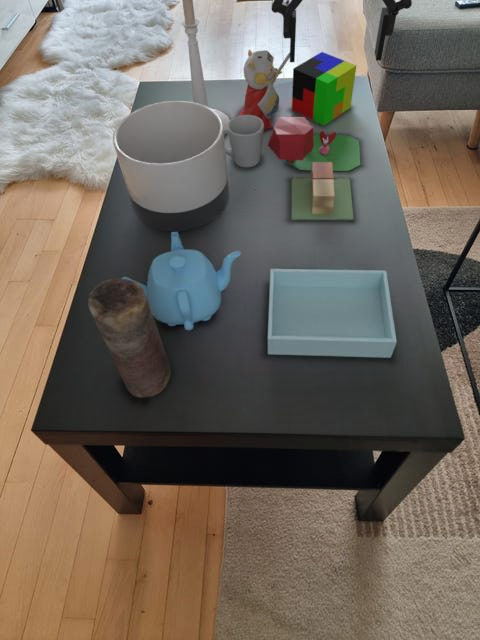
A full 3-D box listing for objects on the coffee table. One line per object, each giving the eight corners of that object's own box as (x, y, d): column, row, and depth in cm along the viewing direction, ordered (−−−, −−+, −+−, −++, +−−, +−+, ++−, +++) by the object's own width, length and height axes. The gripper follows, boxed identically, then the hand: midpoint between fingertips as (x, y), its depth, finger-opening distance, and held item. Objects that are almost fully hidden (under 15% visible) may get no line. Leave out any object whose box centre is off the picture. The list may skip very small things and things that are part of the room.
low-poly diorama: (270, 134, 111) (270, 97, 104) (358, 136, 109) (364, 98, 102) (265, 176, 102) (265, 138, 95) (361, 178, 100) (368, 140, 93)
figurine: (281, 134, 111) (283, 68, 99) (233, 130, 113) (229, 65, 101) (290, 103, 118) (292, 38, 106) (245, 100, 120) (242, 36, 108)
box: (381, 287, 83) (386, 270, 79) (390, 357, 75) (396, 342, 71) (270, 285, 85) (270, 268, 81) (267, 354, 76) (267, 338, 73)
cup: (264, 170, 103) (263, 135, 97) (218, 171, 104) (214, 136, 97) (264, 149, 108) (264, 114, 101) (220, 150, 109) (217, 115, 102)
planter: (151, 175, 105) (132, 97, 90) (238, 182, 102) (232, 103, 87) (123, 237, 94) (96, 160, 79) (219, 247, 91) (209, 169, 76)
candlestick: (226, 108, 118) (215, -35, 94) (233, 138, 111) (222, -9, 87) (175, 115, 118) (150, -28, 94) (178, 145, 110) (152, -1, 86)
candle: (139, 351, 78) (104, 269, 62) (180, 363, 76) (155, 282, 60) (117, 391, 74) (73, 315, 58) (160, 405, 72) (127, 330, 56)
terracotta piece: (330, 180, 100) (332, 162, 96) (331, 196, 97) (333, 178, 93) (310, 180, 100) (312, 162, 96) (311, 196, 97) (312, 178, 93)
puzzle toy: (318, 93, 120) (321, 51, 112) (350, 107, 116) (356, 65, 108) (291, 110, 116) (293, 68, 108) (323, 125, 112) (327, 83, 104)
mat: (349, 180, 100) (349, 178, 100) (353, 220, 93) (353, 218, 93) (291, 180, 101) (291, 178, 101) (291, 219, 94) (291, 217, 94)
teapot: (187, 260, 89) (178, 214, 80) (245, 295, 84) (241, 249, 75) (127, 313, 83) (109, 270, 74) (185, 354, 77) (173, 313, 68)
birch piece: (331, 197, 97) (333, 179, 93) (332, 214, 94) (334, 196, 90) (311, 197, 97) (312, 179, 93) (311, 214, 94) (313, 196, 90)
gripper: (450, -131, 61) (410, 44, 78) (254, -121, 63) (258, 47, 80) (462, -114, 57) (417, 67, 74) (251, -104, 59) (256, 70, 76)
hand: (334, 57), depth 77 cm, fingers open, 13 cm apart
